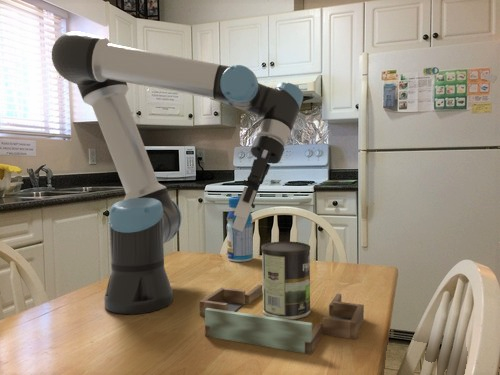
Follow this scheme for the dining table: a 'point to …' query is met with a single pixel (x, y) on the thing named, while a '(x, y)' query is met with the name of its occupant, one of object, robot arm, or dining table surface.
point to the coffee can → (286, 279)
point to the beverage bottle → (239, 236)
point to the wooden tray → (274, 322)
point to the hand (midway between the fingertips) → (238, 223)
